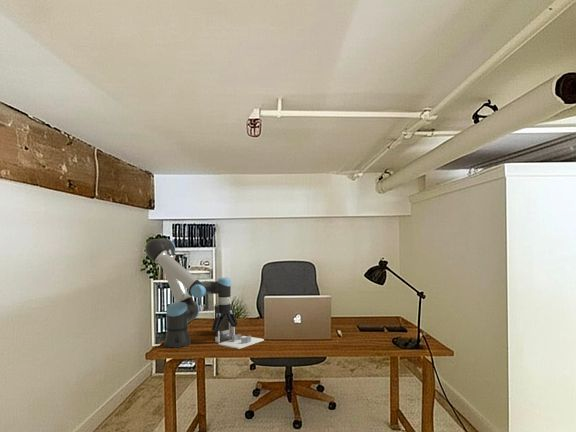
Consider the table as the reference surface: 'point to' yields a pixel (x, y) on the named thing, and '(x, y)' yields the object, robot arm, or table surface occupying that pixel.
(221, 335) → the light grey cube
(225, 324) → the vintage camera
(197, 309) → the robot arm
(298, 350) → the table surface
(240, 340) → the barrel stand
